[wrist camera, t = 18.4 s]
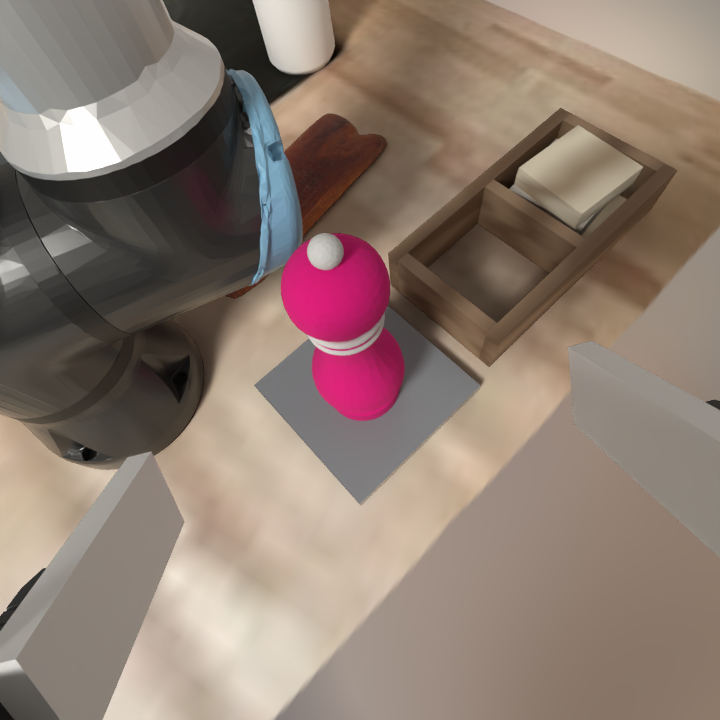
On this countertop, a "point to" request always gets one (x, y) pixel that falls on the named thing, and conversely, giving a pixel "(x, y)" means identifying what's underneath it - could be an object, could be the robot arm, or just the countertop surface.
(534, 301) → the tray
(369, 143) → the wooden tablet
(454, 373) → the slate tile
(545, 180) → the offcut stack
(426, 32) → the countertop surface
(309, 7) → the alcohol
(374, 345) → the pepper mill
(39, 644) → the robot arm
